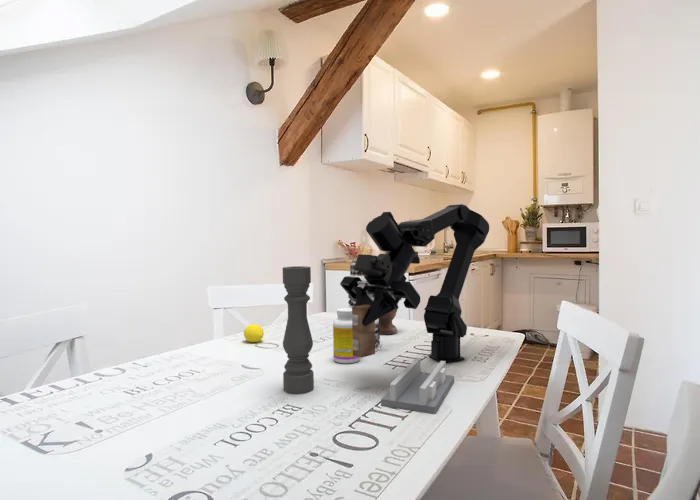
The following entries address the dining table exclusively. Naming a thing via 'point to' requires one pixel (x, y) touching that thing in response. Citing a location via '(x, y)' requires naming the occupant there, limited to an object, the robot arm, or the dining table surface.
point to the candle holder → (297, 331)
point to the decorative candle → (353, 302)
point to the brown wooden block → (362, 332)
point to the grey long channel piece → (419, 388)
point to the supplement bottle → (343, 337)
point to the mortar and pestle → (387, 323)
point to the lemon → (253, 333)
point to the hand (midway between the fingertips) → (358, 323)
